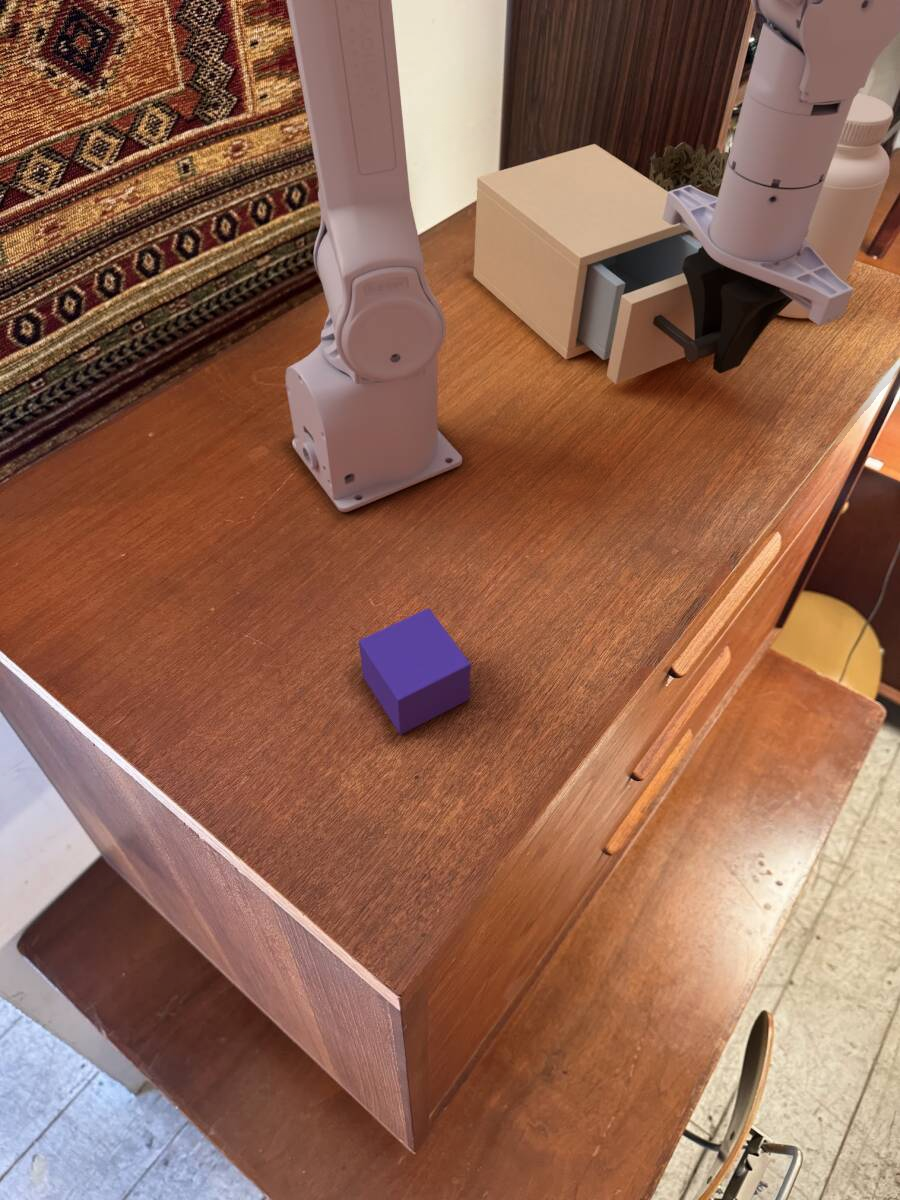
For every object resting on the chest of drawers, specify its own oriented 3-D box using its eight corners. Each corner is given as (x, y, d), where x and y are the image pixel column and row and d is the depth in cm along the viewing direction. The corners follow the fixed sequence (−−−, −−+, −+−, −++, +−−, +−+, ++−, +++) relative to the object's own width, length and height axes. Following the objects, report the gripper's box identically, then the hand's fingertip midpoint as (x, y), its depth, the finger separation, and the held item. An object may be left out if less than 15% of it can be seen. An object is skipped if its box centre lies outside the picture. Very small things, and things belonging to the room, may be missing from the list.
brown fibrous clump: (672, 222, 81) (691, 133, 74) (734, 255, 77) (760, 165, 71) (616, 249, 78) (632, 158, 71) (679, 284, 74) (701, 192, 68)
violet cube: (400, 735, 47) (398, 700, 44) (362, 677, 49) (358, 640, 46) (469, 700, 48) (471, 663, 45) (429, 644, 51) (428, 607, 48)
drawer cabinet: (679, 316, 71) (705, 215, 65) (566, 360, 68) (580, 257, 61) (581, 241, 78) (594, 143, 72) (473, 276, 75) (477, 176, 68)
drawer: (765, 376, 65) (794, 295, 60) (658, 422, 62) (679, 341, 56) (621, 267, 74) (635, 188, 69) (521, 301, 71) (528, 222, 65)
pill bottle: (827, 271, 76) (899, 86, 64) (844, 325, 71) (925, 134, 59) (736, 265, 76) (791, 80, 64) (746, 318, 71) (808, 127, 60)
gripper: (922, 202, 48) (834, 397, 59) (741, 105, 56) (692, 293, 67) (833, 235, 46) (758, 432, 57) (656, 129, 53) (620, 320, 64)
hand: (717, 359), depth 61 cm, fingers closed on drawer
